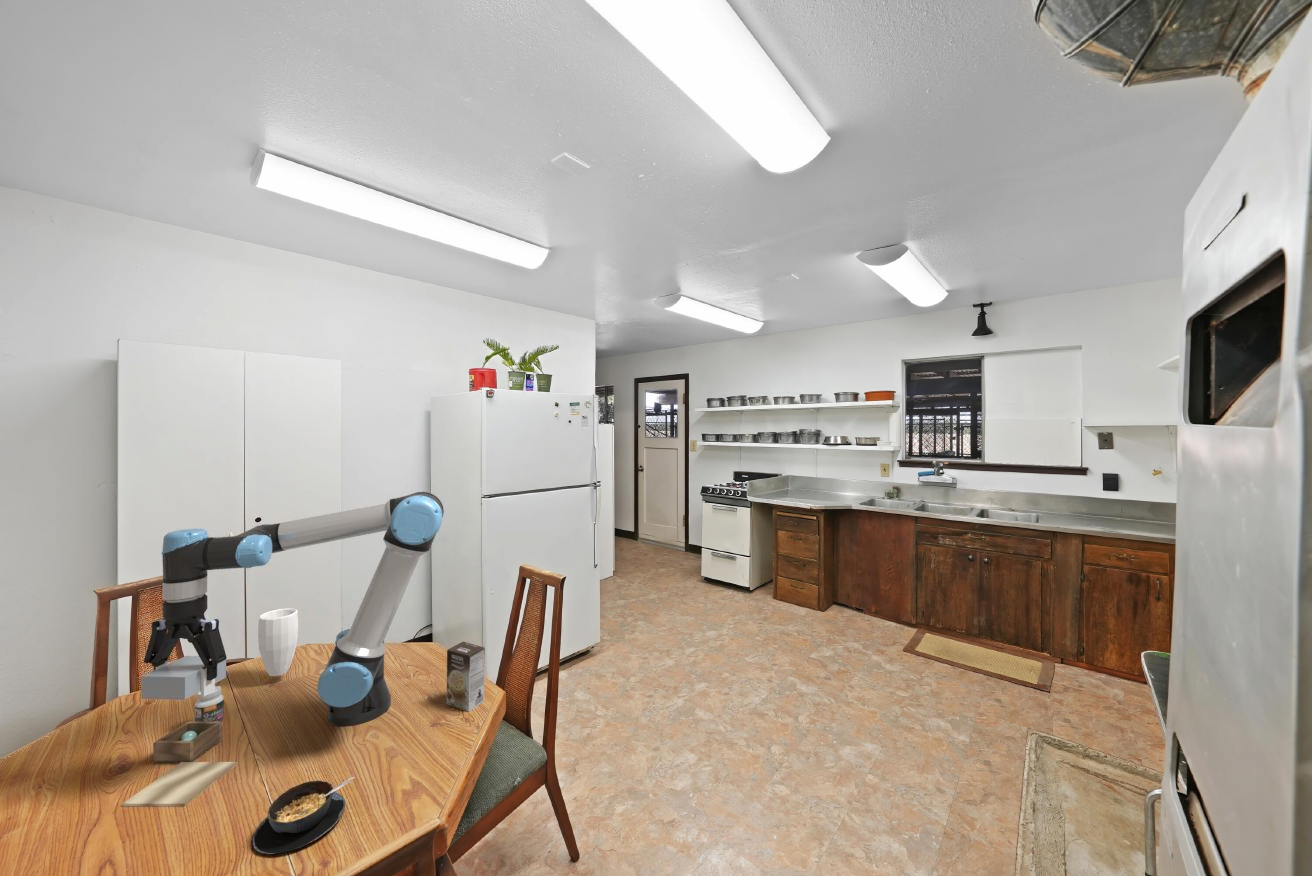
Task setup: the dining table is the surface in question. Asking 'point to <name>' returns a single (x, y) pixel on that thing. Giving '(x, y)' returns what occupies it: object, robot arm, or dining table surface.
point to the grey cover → (177, 679)
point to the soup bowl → (299, 817)
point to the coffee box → (465, 676)
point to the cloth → (180, 784)
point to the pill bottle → (210, 706)
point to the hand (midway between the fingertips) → (185, 692)
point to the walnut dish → (187, 742)
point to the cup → (278, 639)
